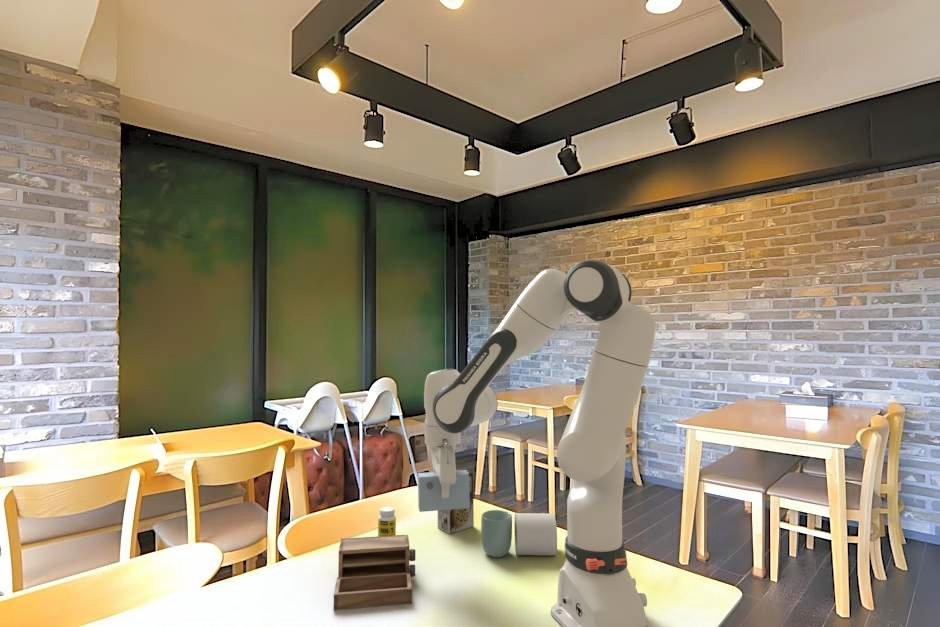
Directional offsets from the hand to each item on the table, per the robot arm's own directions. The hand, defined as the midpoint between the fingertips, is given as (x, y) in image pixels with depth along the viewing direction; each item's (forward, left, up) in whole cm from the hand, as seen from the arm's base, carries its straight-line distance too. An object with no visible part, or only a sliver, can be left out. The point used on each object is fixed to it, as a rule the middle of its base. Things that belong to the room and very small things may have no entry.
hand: (443, 493), depth 123 cm
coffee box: (+27, -7, -19) cm, 34 cm away
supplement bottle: (+21, +13, -19) cm, 31 cm away
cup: (+7, -15, -19) cm, 25 cm away
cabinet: (-5, +16, -18) cm, 25 cm away
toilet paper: (+6, -25, -19) cm, 32 cm away
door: (0, 0, -3) cm, 3 cm away
